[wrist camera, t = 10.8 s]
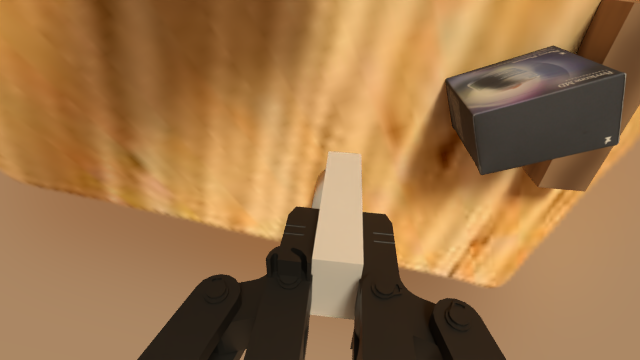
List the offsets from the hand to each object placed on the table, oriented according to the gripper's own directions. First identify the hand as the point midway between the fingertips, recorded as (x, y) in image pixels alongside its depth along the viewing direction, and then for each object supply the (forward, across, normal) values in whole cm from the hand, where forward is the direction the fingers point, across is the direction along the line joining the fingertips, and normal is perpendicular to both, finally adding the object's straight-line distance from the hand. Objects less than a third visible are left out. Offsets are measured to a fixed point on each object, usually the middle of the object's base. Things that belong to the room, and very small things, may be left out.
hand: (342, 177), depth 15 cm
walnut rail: (+22, +24, -2) cm, 33 cm away
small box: (+23, +16, -2) cm, 28 cm away
